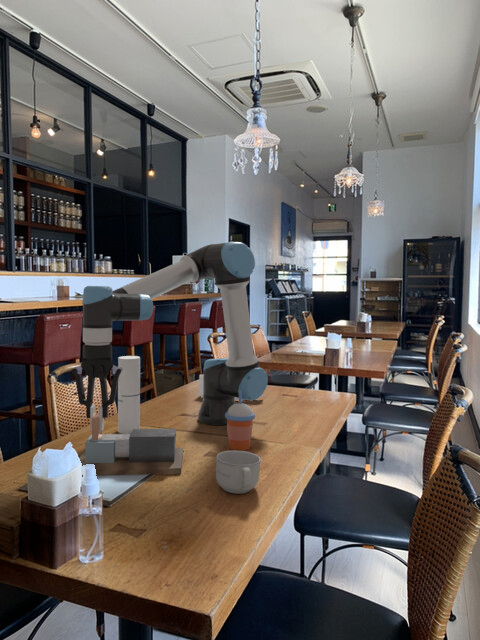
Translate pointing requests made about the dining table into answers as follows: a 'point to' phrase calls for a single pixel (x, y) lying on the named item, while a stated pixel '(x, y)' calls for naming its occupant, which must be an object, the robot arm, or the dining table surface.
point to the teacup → (237, 471)
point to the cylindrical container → (129, 394)
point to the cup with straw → (239, 425)
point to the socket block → (99, 452)
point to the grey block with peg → (111, 438)
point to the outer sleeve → (152, 445)
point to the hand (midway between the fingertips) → (97, 429)
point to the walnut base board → (137, 466)
